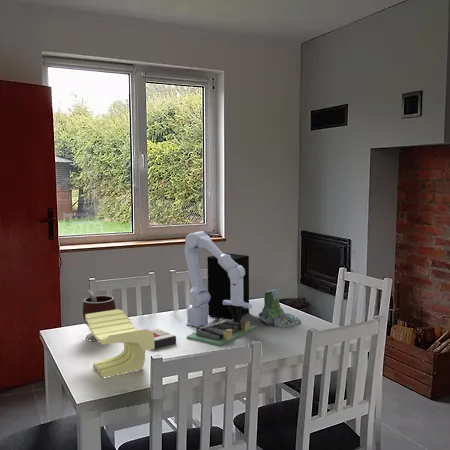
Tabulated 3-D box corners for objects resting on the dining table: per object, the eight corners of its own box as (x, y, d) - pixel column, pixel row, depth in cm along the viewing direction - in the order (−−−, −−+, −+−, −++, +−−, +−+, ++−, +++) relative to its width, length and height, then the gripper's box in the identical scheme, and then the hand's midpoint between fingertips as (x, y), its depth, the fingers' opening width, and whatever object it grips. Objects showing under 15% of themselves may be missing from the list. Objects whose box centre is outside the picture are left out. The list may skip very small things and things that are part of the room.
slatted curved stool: (155, 377, 171) (154, 327, 169) (110, 387, 163) (108, 335, 161) (126, 351, 196) (125, 308, 195) (87, 359, 188) (85, 314, 187)
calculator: (158, 327, 216) (176, 334, 204) (158, 337, 216) (176, 344, 204) (135, 332, 209) (153, 340, 198) (136, 342, 210) (153, 350, 198)
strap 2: (218, 321, 225) (218, 319, 225) (222, 319, 227) (222, 317, 227) (241, 325, 218) (240, 323, 218) (244, 323, 220) (244, 321, 220)
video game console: (231, 320, 236) (230, 259, 233) (208, 315, 245) (207, 257, 242) (249, 313, 248) (248, 255, 245) (226, 309, 257) (225, 253, 254)
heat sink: (193, 334, 213) (193, 326, 212) (222, 322, 231) (222, 314, 230) (224, 341, 203) (224, 333, 203) (252, 328, 221) (251, 320, 221)
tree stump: (291, 331, 221) (281, 292, 221) (254, 334, 232) (244, 298, 232) (307, 319, 237) (298, 283, 236) (271, 322, 248) (262, 288, 247)
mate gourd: (122, 336, 215) (121, 292, 213) (95, 344, 205) (93, 298, 203) (102, 329, 225) (101, 286, 223) (75, 337, 215) (73, 292, 213)
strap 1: (200, 329, 214) (199, 327, 214) (204, 327, 216) (203, 326, 216) (221, 323, 207) (220, 321, 207) (225, 321, 209) (224, 319, 209)
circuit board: (186, 338, 211) (186, 336, 211) (223, 322, 234) (223, 320, 234) (220, 346, 201) (220, 343, 201) (255, 328, 224) (255, 326, 224)
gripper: (255, 292, 219) (255, 322, 220) (228, 289, 227) (229, 317, 228) (247, 296, 213) (247, 326, 214) (219, 292, 221) (220, 321, 222)
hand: (237, 322), depth 221 cm, fingers closed on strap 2
